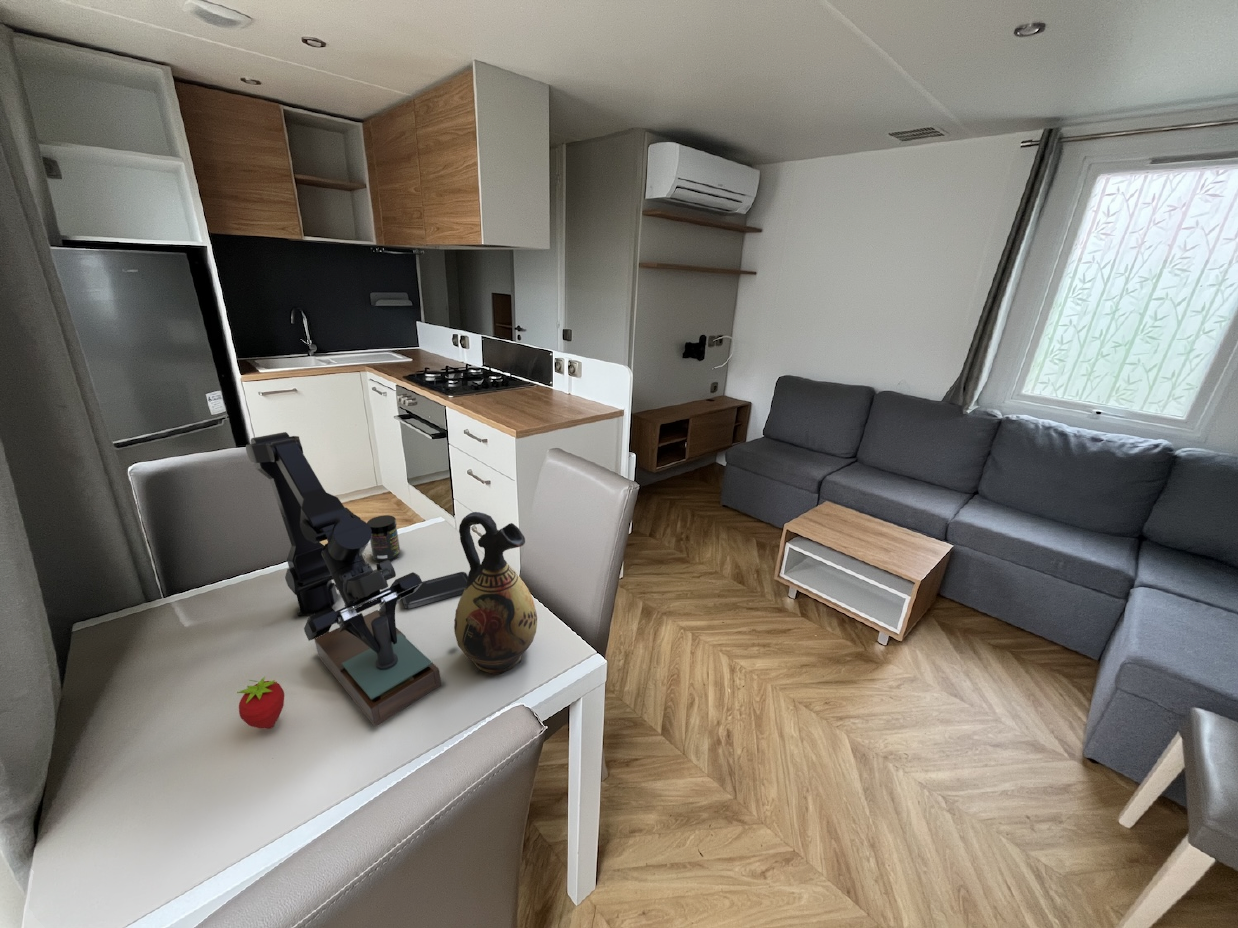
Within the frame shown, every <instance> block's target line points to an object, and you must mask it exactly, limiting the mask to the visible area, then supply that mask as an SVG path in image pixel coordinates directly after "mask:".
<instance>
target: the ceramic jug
mask: <svg viewBox="0 0 1238 928" xmlns="http://www.w3.org/2000/svg"><path fill="white" fill-rule="evenodd" d="M477 525H481V526H482V528H483V529H484V531H485V533H484V534H482V535H481V536H480V538H479V539H478V540H477V546H479V548H483V550H484V556H483V559H482V561H481V559H480V557H479V556H480V555H479V553H478V551H477V549H476V546H475V542H474V539H473V536H472V533H471V528H472V526H477ZM458 532H459V540H460V541H459V542H460V544H461V546H462V550H463V552H464V554H465V555H464V556H465V558H466V560H467V563H468V565H469V571H468V574H467V576H468V579H467V585H466V588H465V590H464V592H463V594H461V595H460V596H461V597H460V598H459V600H458V603H457V607H456V609H455V615H454V625H453V630H454V636H455V640H456V643H457V646H458V648H459V649H460V650H461V652H463V654H465V656H466V657H468V658H469V659H470V660H471V661H472V662H473V664H474V666H476V668H477V669H479V670H480V671H483V672H485V673H489V674H492V675H500V674H503V673H505V672H507V671H509V670H512V669H514V668H516V667H517V666H518V665H520V663H522V657H523V654H524V653H525V652H526V651H527V650H528V649H529V647H530V646H531V645H532V644H533V642H534V640H535V639H534V638H535V636H536V633H537V628H538V614H537V609H536V605H535V602H534V598H533V596H532V594H531V592H530V589H529V587H528V586H527V585H526V584H525V582H524V580H522V578H521V577H520V575H519V574H518V573H517V572H516V570H515V569H514V568H512V567H511V566H510V564H509V563H508V562H507V561H506V559H505V557H504V553H505V552H506V551H508V550H511V549H517V548H521V547H523V546H524V545H525V544H526V538H525V536H524V534H523V532H522V531H521V530H520V528H519V527H518V526H517V525H515V524H514V523H512V522H511V523H508V524H506V525H505V526H503V527H502V528H500V529H499V530H498V526H497V523H496V521H495V520H494V519H493V517H492V516H491V515H489V514H487V513H484V512H479V511H472V512H470V513H468V514H467V515H466V516H464V517H463V518H462V519H461V522H460V524H459V528H458Z"/></svg>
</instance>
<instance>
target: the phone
mask: <svg viewBox="0 0 1238 928" xmlns="http://www.w3.org/2000/svg"><path fill="white" fill-rule="evenodd" d="M467 579H468V573H467V572H466V571H459V572H455V573H451V574H447V575H444V576H438V577H435V578H432V579H427V580H424V581H423V580H422V582H423V583H422V585H421V586H420V587H419V588H418V589H417V590H416V592H414V593H412V594H410V595H408V596H406V597H404V598H402V603H403V607H404V609H413V608H417V607H421V606H424V605H427V604H431V603H432V604H433V603H435V602H439V601H442V600H446V599H449V598H453V597H457V596H462V594H463V592H464V590H465V588H466V585H467Z"/></svg>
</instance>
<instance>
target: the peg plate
mask: <svg viewBox="0 0 1238 928" xmlns="http://www.w3.org/2000/svg"><path fill="white" fill-rule="evenodd" d="M371 626H372V631H373V636H374V638H375V640H376V642H377V644H378V646H379V648H380V652H379V653H376V652H375V651H373V650H372V649H371V648H370V649H368V650H366V651H364V652H362V653H360V654H359V655H357V656H355V657H353V658H351V659H349V660H347V661H345V662H343V663H342V666H343V667H344V668H345V669H346V670H347V672H348V673H349V674H350V675H351V676H352V677H353V679H354V680H355V681H356V682H357V683H358V685H359V686H360V687H361V688H362V689H363V691H364V692H365V693H366V694H367V695H368V696H369V698H370V699H371V700H372V699H374V698H375V697H377V696H379V695H380V694H382V693H384V692H386V691H387V690H389V689H391V688H392V687H394V686H396V685H397V684H399V683H401V682H403V681H404V680H406V679H408V678H409V677H411V676H413V675H414V674H416V673H418V672H420V671H421V670H423V669H425V668H426V667H428V666H430V665H431V664H432V663H433V662H432V660H431V659H429V658H428V657H427V656H426V655H425V654H424V653H423V652H422V651H421V650H419V649H418V647H416V646H415V644H413V643H412V642H411V641H410V640H409V639H408V638H407V637H406V638H405V637H404V636H403V635H402V634H401V633H399V634H397V643H396V644H393V643H392V641H391V635H390V629H389V623H388V618H387V617H384V616H381V617H377V618H375V619H373V620H372V622H371Z"/></svg>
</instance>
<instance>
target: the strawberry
mask: <svg viewBox="0 0 1238 928" xmlns="http://www.w3.org/2000/svg"><path fill="white" fill-rule="evenodd" d="M265 679H266V676H264V677H262V679H260V680H259V681H257V680H253V679H249V681H250V682H255V684H254V685H247V686H246V687H247V688H246V689H245V688H244V689H242V690H239V691H237V692H236V693H237V694H243V695H242V697H241V699H240V700H239V703H238V713H239V717H240V719H241V720H242V721H243V722H244V723H245V724H246V725H247V726H249V727H252V728H256V729H266V730H270V729H273V727H274V726H275V725H276V723H277V721H278V720H279V718H280V716H281V714H282V711H283V708H284V705H285V691H284V689H283V687H282V686H281V685H280V683H279V682H278V681H276V679H273V680H265Z"/></svg>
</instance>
